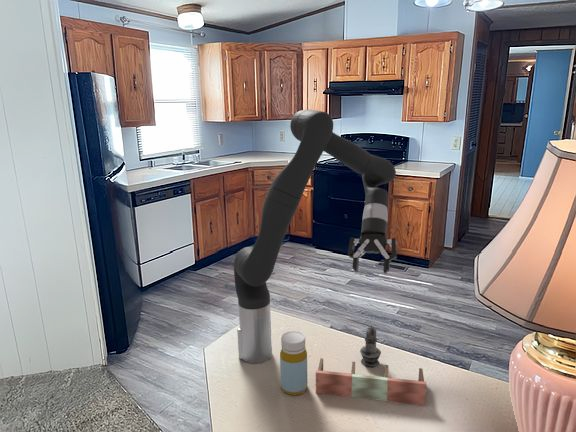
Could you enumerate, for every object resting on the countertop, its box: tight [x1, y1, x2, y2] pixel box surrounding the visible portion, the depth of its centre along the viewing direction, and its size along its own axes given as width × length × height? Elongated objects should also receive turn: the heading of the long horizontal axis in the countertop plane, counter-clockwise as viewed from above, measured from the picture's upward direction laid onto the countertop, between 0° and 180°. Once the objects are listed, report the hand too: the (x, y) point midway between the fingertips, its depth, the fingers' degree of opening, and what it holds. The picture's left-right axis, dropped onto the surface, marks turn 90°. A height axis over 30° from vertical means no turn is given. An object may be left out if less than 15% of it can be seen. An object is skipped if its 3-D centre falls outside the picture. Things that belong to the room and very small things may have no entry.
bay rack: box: [315, 357, 427, 406], centre depth 112 cm, size 27×10×6 cm, turn 78°
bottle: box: [279, 330, 308, 396], centre depth 111 cm, size 7×7×15 cm
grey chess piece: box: [359, 324, 382, 369], centre depth 122 cm, size 6×6×12 cm
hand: (370, 272), depth 125 cm, fingers open, 8 cm apart
